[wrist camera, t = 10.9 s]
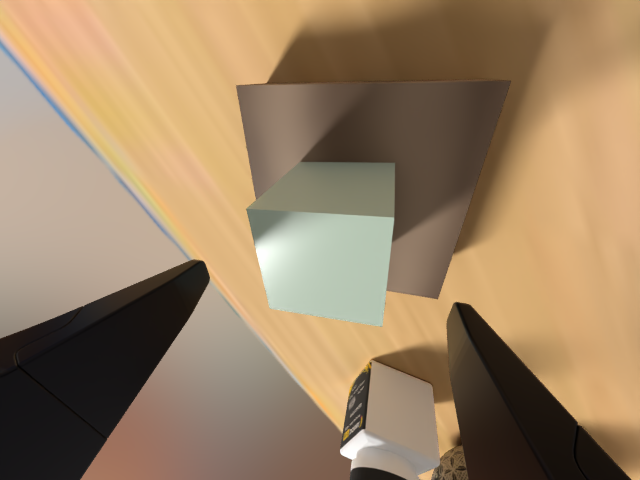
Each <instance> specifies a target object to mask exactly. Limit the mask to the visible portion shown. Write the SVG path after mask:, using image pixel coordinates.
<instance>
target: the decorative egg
mask: <svg viewBox="0 0 640 480" xmlns="http://www.w3.org/2000/svg"><path fill="white" fill-rule="evenodd" d="M431 480H468V474H467V469H466V463H465V458H464V452H463V447H462V446H458V447H455V448H452V449H451V450H449V451H448V452H446V453H445V454H444V455H443V456H442V457H441V458H440V465H439V466H438V467H436V468H435V469H434V472H433V475H432V478H431Z"/></svg>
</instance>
